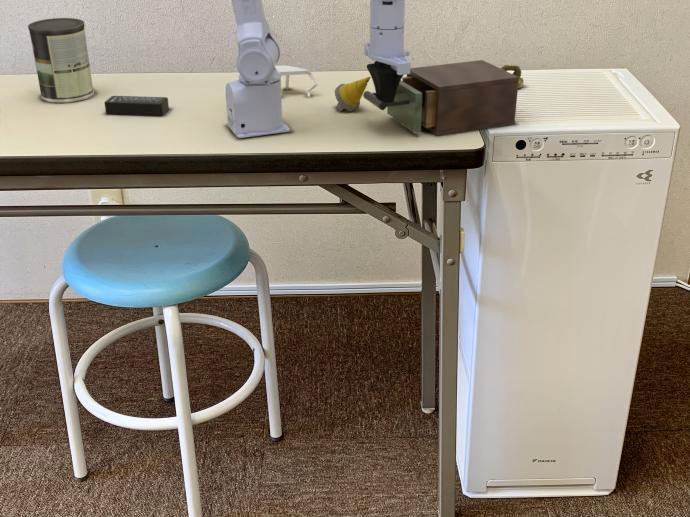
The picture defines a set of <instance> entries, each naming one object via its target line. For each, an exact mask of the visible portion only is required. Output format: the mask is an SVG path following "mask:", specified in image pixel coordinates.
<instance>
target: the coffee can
mask: <svg viewBox="0 0 690 517" xmlns="http://www.w3.org/2000/svg"><path fill="white" fill-rule="evenodd" d="M85 25H86V24H85V21H84V20H82V19H79V18H74V17H73V18H72V17H56V18H55V17H53V18H46V19H45V18H44V19H40V20H37V21H33V22H31V23H29V24H28V25H27V29H28V32H29V36H30V41H31V47H32V54H33V58H34V64H35V69H36V75H37V79H38V86H39V90H40V98H41V99H42V100H43V101H44V102H48V103H55V104H66V103H68V104H69V103H75V102H80V101H84V100H87V99H89V98H91V97H92V96H94V94H95V90H94V84H93V77H92V71H91V64H90V57H89V52H88V44H87V38H86V31H85Z"/></svg>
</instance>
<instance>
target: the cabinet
mask: <svg viewBox="0 0 690 517" xmlns="http://www.w3.org/2000/svg"><path fill="white" fill-rule="evenodd" d="M410 76H413V77H415V78H416V79H418V80H420V81H422V82H423V83H425V84H427V85H429V86H430V87H432V88H434V89H436V90H437V100H436V121H435V127H429V128H425V127H424V126H422V127H423V128H425V129H426V130H428V131H429V132H430V133H432V134H434V136H437V137H438V136H444V135H451V134H457V133H465V132H472V131H479V130H485V129H492V128H493V129H494V128H500V127H507V126H514V125H516V114H517V113H516V112H517V101H518V93H519V92H518V91H519V88H518V81H519V77H517V76H515V75H513V73H511V72H509V71H508V70H507V71H505V70H502V69H501V68H500V67H498V66H496V65H494V64H492V63H489V62H487V61H485V60H483V59H482V60H481V59H479V60H471V61H463V62H461V61H460V62H453V63H445V64H435V65H426V66H418V67H410V74H406V77H410Z"/></svg>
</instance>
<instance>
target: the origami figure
mask: <svg viewBox="0 0 690 517" xmlns="http://www.w3.org/2000/svg"><path fill="white" fill-rule="evenodd" d="M275 68H276V69H277V71H278V73H279V74H280V75H281V77H282V76H285V90H289V89H290V88H289V86H290V76H298V75H308V76H309V78H310V79H311V80H312V82H313V84H314V85H312V86H311V87H310V88H309V89H308V90H307V91H306V93H307V97H308V98H310V97H311V91H313V90H314V89H316V88H317V87H318V85H319V83H318V82H317V80H316V78H315V76H314V75H313V74H312V72H311V71H310V70H309V69H305V68H302V67H299V66H298V67H297V66H291V65H275ZM282 94H284V93H283V91H282V90H281V95H282Z"/></svg>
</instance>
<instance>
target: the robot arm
mask: <svg viewBox="0 0 690 517" xmlns="http://www.w3.org/2000/svg"><path fill="white" fill-rule="evenodd" d="M230 1H231V6H232V10H233V14H234V19H235V23H236V44H237V49H238V51H237V52H238V53H237V57H236V61H235V62H236V70H237V72H238V74H239V75H238V79H236V80H234V81H229V82H227V83H226V84H225V103H226V104H225V105H226V118H227V122H226V125H227V127H228V128H229V129H230V130H231V132H232V133H233V134H234V135H235V137H237V139H244V138H251V137H259V136H265V135H266V136H268V135H274V134H281V133H289V132H291V128H290V127H289V126H288V125H287V124H286V123H285V122H284V121H283V101H282V98H283V97H282V94H281V91H282V76H281V75H280V74H279V73H278V71H277V69H276V68H275V66H277V63H279V60H280V56H281V49H280V46H279V43H278V42H277V41H276V39H275V38H274V37H273V35H272V31H271V27H270V24H269V23H268V20H267V19H266V14H265V10H264V5H263V0H230ZM405 12H406V0H369V43H367V42H366V43H364V46H363V47H364V48H363V50H364V52H363V53H364V54H363V55H365V56H366V57H368V59H369V60H372V61H374V62H373V63H367V65H366V69H367V71H368V73H369V75H370V77H371V80H372V82H373V86H374V90H375V93H376V96H377V97H378V98H380V99H381V100H382V101H384V102H385V103H386V102H394V98H395V94H396V91H397V88H398V85H399V82H400V80H401V81H402V78H403V77H404V75H407V74H410V68H411V61H409V60H408V58H407V57H409V56H410V53H411V51H410V50H407V49H405V46H404V45H405V18H406V16H405V15H406V13H405Z"/></svg>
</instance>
